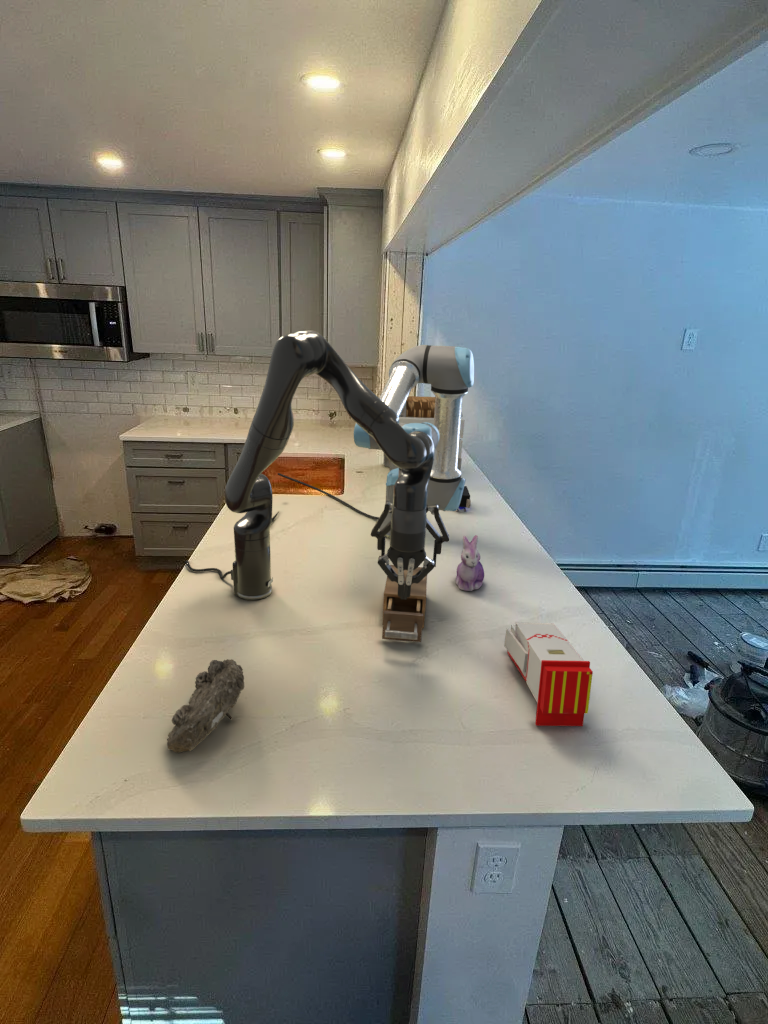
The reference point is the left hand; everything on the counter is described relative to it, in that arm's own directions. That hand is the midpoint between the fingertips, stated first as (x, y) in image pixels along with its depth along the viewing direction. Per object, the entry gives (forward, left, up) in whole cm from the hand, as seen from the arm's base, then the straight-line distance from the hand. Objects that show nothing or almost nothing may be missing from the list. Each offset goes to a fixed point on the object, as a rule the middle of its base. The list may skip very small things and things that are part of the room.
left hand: (403, 597), depth 127 cm
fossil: (-32, -30, -14) cm, 46 cm away
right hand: (-2, +23, -2) cm, 23 cm away
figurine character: (+10, +106, -14) cm, 108 cm away
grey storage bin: (-11, +152, -14) cm, 153 cm away
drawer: (-1, +8, -13) cm, 15 cm away
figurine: (+15, +38, -14) cm, 43 cm away
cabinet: (-2, +19, -14) cm, 24 cm away
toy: (+31, -5, -14) cm, 34 cm away
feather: (-57, +78, -14) cm, 98 cm away
